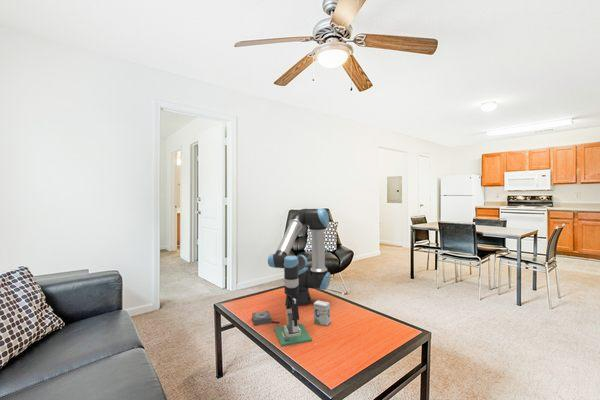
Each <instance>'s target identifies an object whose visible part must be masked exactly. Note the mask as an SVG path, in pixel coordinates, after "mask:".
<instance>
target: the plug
mask: <svg viewBox="0 0 600 400" xmlns="http://www.w3.org/2000/svg"><path fill="white" fill-rule="evenodd" d="M292 319H293V315H292V313H287V312H286V324H287V325H286V326H288V331H289V334H295V333H297V332H293V323H292Z"/></svg>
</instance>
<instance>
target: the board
mask: <svg viewBox="0 0 600 400" xmlns="http://www.w3.org/2000/svg"><path fill="white" fill-rule="evenodd" d="M274 332H275V334H276V337H277V339H278V341H279V344H280V346H281V347H286V346H292V345H297V344H304V343H307V342H308V343H309V342H312V341H313V338H312V337H311V335H310V334H309V332H308V331H307V329H306V327H305V326H304V324H303V323H302V322H301V323H298V332H297V333H295V334H289V331H288V325H283V326H275V327H274Z"/></svg>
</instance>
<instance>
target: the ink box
mask: <svg viewBox="0 0 600 400" xmlns="http://www.w3.org/2000/svg"><path fill="white" fill-rule="evenodd" d="M313 323H314V324H317V325H322V326H329V325H330V323H331V303H330V302H328V301H323V300H320V299H319V300H316V301H314V302H313Z"/></svg>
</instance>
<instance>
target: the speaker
mask: <svg viewBox="0 0 600 400" xmlns="http://www.w3.org/2000/svg"><path fill="white" fill-rule="evenodd" d="M251 316H252V318H253V319H252V318H251V319H252V322H253V325H254V326H260V325H259V324H261V325H265V324H267V325H268V324H272V323H273V322H272V321H273V320H272V319H273V318H272V316H271V314H270V312H269V310H266V311H259V312H252V313H251Z"/></svg>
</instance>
